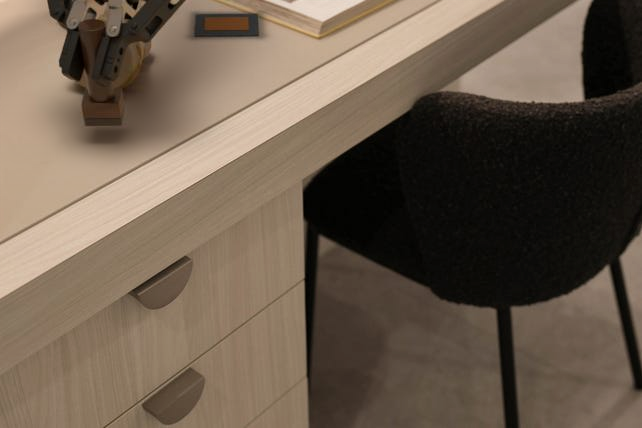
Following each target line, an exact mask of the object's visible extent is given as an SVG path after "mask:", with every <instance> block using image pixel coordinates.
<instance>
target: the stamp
mask: <svg viewBox="0 0 642 428" xmlns="http://www.w3.org/2000/svg"><path fill="white" fill-rule="evenodd" d="M78 29H79V36H80V42H81V49H82V55H83V62H84V68H85V75H86V81H87V88H88V89H86V88H84V93H83V96H82V99H81V103H80V105H81V111H82V119H83V123H84V127H120V126H121V127H122V126H123V121H124V116H125V113H126V112H125V111H126V108H125V100H124V92H123V89H114V85H113V81H111V84H110V86H109V87H105V86H100V85H98V84H97V83H95V82H94V81H92V78H91V74H92V71H93V67H94V64H95V60H96V57H97V53H98V50H99V46H100V43H101V40H102V37H107V33H106V24H105V22H104V21H102V20H99V19H88V20H84V21H82V22H80V23H79V25H78Z"/></svg>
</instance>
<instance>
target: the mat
mask: <svg viewBox="0 0 642 428" xmlns="http://www.w3.org/2000/svg"><path fill="white" fill-rule="evenodd" d="M259 29H260V28H259V13H196V14H195V20H194V32H193V33H194V34H193V37H194V38H223V37H224V38H228V37H229V38H235V37H237V38H238V37H239V38H241V37H242V38H245V37H248V38H249V37H250V38H251V37H260V30H259Z"/></svg>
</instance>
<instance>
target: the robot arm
mask: <svg viewBox="0 0 642 428" xmlns="http://www.w3.org/2000/svg"><path fill="white" fill-rule="evenodd" d="M46 1H47V7H48V12H49V16H50V17H51V18H52V19H53V20H55V21H57V22H58V23H60V24H61V26H63V27H64V28H65V29H66V35H65V39H64V41H63V46H62V49H61V52H60V54H59V55H60V56H59V57H58V58H59V59H58V64H59V65H58V66H59V68H61V70H60V71H61V74H62V76H64V77H66V78H68V79H69V80H71V81H74V80H75V81H80V80H81V78H82V74H83V71H84V62H83V55H82V49H81V42H80V36H79V29H78V25H79V23H80V22H82V21H84V20H88V19H98V18H101V17H103V15H104V14H105V12H106V9H107V7H108V10H109V11H108V15H107V18H108V21H107V26H106V33H107V37H102V40H101V43H100V46H99V50H98V53H97V57H96V60H95V64H94V67H93V71H92V74H91V78H92V81H94V82H95V83H97V84H98V85H100V86H105V87H109V86H110V84H111V81H115V80H116V79H117V77H118V76H119V72H120V69H121V64H122V62H123V58H124V55H125V51H126V48H127V47H128V45H130V44H131V43H134V42H140V41H142V42H143V43H148V42H150V41H151V42H152V40H153V38H155V37H156V35H157V34H158V33H159V32H160V31H161V29H162V28H164V26H165V25H166V24H167V22H168V21H169V20H171V18H172V17H173V15H174V14H175V13H177V11H178V10H179V9H180V8H181V7H182V5H184V3H185V2H186V1H187V0H146V2H145V3H144V4H143V5H142V0H46ZM75 81H74V82H75Z"/></svg>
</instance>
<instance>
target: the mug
mask: <svg viewBox="0 0 642 428" xmlns="http://www.w3.org/2000/svg"><path fill="white" fill-rule="evenodd" d="M98 19H99V20H102V21H104V22H105V24H106V26H107V21H108V17H99V18H98ZM152 44H153V43H152V40H151V41H150V42H148V43H143V42H142V41H140V42H134V43H131V44H130V45H128V47H127V48H126V51H125V55H124V58H123V62H122V64H121V69H120V72H119V76H118V77H117V79H116V80H115V81H113V85H114V89H122V90H123V89H125V88H126V87H128V86H129V85H131V83H133V82H134V80H135V79H136V77H137V76H138V75H139V72H140V71H141V69H142V64H143V60H144V59H146V58H147V57H148V55H149V54H150V53H151V50H152ZM73 81H74V82H75V83H76V84H78V85H79V86H81V87H83V88H84V89H88V88H87V81H86V75H85V68H84V71H83V74H82V78H81V80H80V81H75V80H73Z"/></svg>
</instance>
